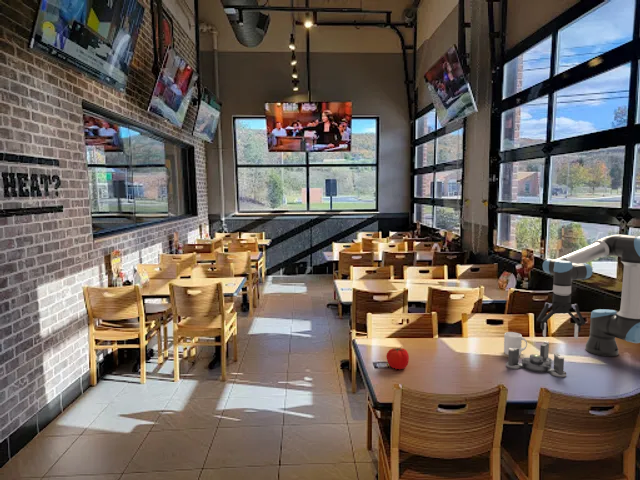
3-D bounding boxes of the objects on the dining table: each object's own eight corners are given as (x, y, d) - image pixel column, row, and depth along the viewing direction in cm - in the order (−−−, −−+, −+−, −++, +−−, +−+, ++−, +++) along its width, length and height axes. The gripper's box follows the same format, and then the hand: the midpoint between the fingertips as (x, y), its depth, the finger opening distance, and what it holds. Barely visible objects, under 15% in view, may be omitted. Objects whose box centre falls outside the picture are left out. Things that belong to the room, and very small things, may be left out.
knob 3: (553, 368, 211) (554, 352, 210) (558, 369, 211) (558, 352, 210) (558, 374, 205) (559, 357, 204) (563, 374, 205) (564, 357, 204)
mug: (530, 356, 231) (531, 337, 230) (507, 356, 231) (508, 337, 230) (523, 350, 239) (523, 331, 238) (501, 350, 240) (501, 332, 239)
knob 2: (544, 360, 222) (544, 344, 221) (539, 359, 223) (540, 343, 222) (548, 357, 226) (549, 341, 225) (544, 355, 227) (544, 340, 226)
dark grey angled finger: (514, 361, 221) (515, 346, 220) (518, 362, 219) (519, 347, 218) (507, 364, 217) (508, 348, 216) (511, 365, 216) (512, 349, 215)
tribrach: (548, 358, 228) (548, 347, 227) (568, 377, 204) (569, 365, 204) (499, 357, 230) (499, 346, 230) (514, 376, 207) (514, 364, 206)
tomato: (410, 363, 224) (410, 344, 223) (407, 373, 212) (407, 353, 211) (388, 361, 227) (388, 342, 226) (384, 371, 215) (384, 351, 214)
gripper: (589, 292, 204) (586, 336, 206) (531, 290, 211) (529, 332, 213) (594, 296, 197) (592, 341, 199) (534, 294, 203) (532, 337, 206)
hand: (559, 337), depth 206 cm, fingers open, 13 cm apart
